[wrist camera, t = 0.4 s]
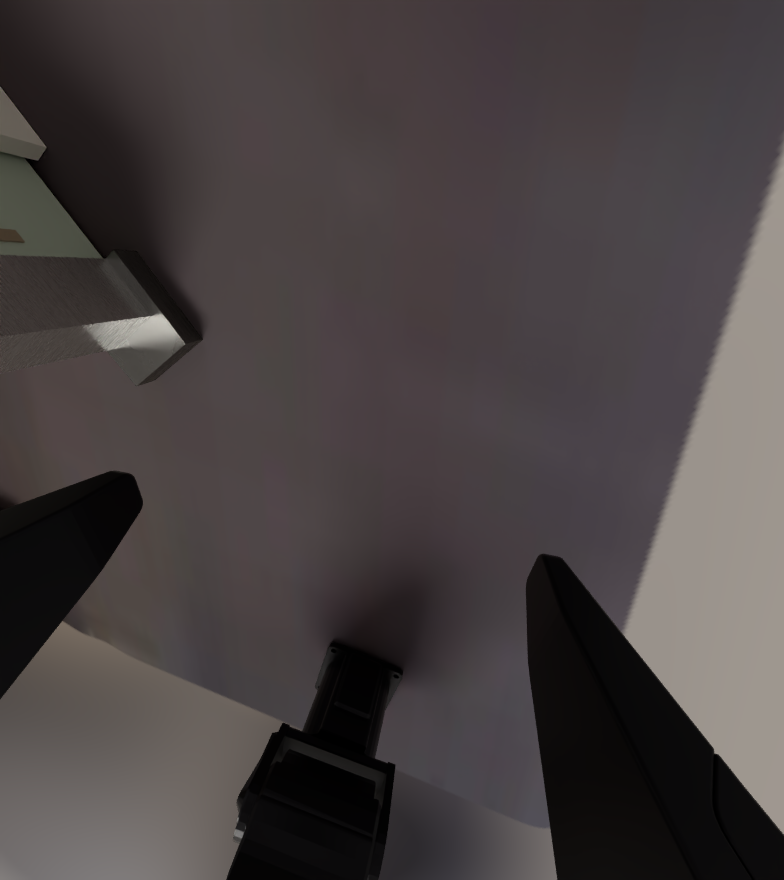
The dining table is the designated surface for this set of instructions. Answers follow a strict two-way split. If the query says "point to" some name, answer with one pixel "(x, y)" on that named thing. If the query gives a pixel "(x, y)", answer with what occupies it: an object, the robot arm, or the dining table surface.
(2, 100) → the white slotted block
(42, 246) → the door panel
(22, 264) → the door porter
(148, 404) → the dining table surface
